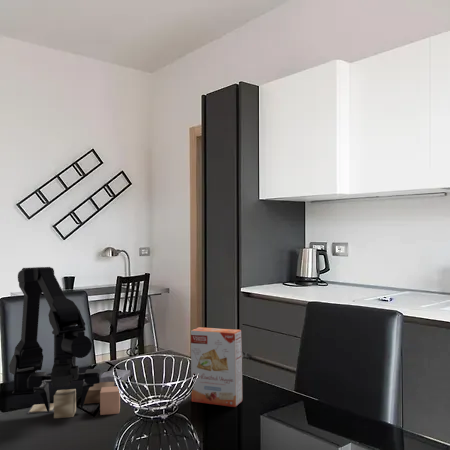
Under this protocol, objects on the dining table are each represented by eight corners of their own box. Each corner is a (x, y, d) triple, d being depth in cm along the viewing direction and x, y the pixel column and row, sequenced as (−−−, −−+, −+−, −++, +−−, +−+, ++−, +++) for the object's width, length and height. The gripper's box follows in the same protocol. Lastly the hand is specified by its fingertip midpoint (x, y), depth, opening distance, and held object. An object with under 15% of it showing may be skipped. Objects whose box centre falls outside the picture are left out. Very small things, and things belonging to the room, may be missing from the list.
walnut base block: (83, 404, 139) (83, 390, 140) (87, 396, 147) (87, 383, 148) (111, 403, 140) (111, 389, 141) (114, 394, 148) (114, 381, 149)
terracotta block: (100, 415, 130) (100, 392, 130) (101, 408, 135) (101, 387, 135) (119, 413, 131) (119, 391, 131) (120, 407, 136) (119, 386, 136)
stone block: (94, 394, 154) (125, 388, 154) (91, 379, 154) (122, 373, 154) (104, 385, 166) (133, 379, 166) (102, 371, 166) (130, 365, 166)
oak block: (53, 418, 128) (53, 395, 128) (57, 412, 133) (57, 390, 133) (73, 417, 129) (73, 394, 129) (76, 410, 134) (75, 388, 134)
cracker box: (190, 402, 139) (189, 329, 140) (199, 396, 144) (198, 326, 145) (235, 408, 133) (234, 332, 134) (243, 401, 139) (241, 328, 140)
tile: (27, 413, 132) (27, 412, 132) (32, 405, 138) (32, 404, 138) (53, 411, 133) (53, 410, 133) (57, 404, 139) (57, 402, 139)
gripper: (21, 360, 122) (21, 423, 121) (97, 356, 125) (97, 417, 125) (31, 351, 133) (31, 408, 132) (101, 348, 136) (101, 403, 135)
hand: (65, 409), depth 131 cm, fingers open, 8 cm apart
